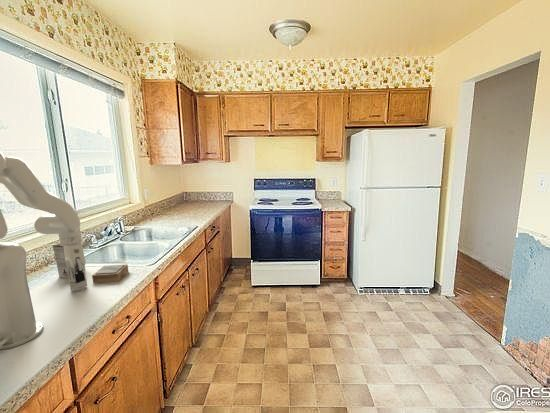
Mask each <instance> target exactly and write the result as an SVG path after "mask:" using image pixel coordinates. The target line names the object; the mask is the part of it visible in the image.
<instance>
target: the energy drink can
mask: <svg viewBox="0 0 550 413" xmlns="http://www.w3.org/2000/svg"><path fill="white" fill-rule="evenodd" d="M76 266H78V265H75V267H76ZM82 266H83V271H84V277H85V281H82V282H79V283H76V280H75V271H74V268H72V267H71V265H70V263H69V261H68V260H66V267H67V272H68V278H67V279H68V283H69V288H70V290H71V291H72V292H74V293H75V292H76V293H78V292H81V291H84V290H86V289H87V286H88V281H87V274H86V268H85V269H84V265H83V264H82ZM76 269H78V268H76Z"/></svg>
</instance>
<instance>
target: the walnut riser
mask: <svg viewBox="0 0 550 413" xmlns="http://www.w3.org/2000/svg"><path fill="white" fill-rule="evenodd" d="M128 266H129V265H128V263H126V264H113V265H103V266H102V267H101V268H99V269H98V270H97V271H95V272H94V273H93V274H92V275H91V276H92V277H91V278H92V284H107V283H108V284H110V283H111V284H112V283H120V282H121V281H122V279H123V278H124V277H125V276H126V275H127V274H128V273H129V267H128Z"/></svg>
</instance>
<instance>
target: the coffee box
mask: <svg viewBox="0 0 550 413" xmlns="http://www.w3.org/2000/svg"><path fill="white" fill-rule="evenodd" d="M52 247H53V252H54V258H55V263H56V268H57V273H58V277H59V278H67V279H69V278H68V272H67V267H66V260H65V255H64V248H63V246H61V245H60V243H58V244H54V245H53V246H52ZM85 265H86V264H85ZM85 265H84V269H85V270H86V266H85Z"/></svg>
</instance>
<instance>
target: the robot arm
mask: <svg viewBox="0 0 550 413" xmlns="http://www.w3.org/2000/svg"><path fill="white" fill-rule="evenodd" d="M0 184H2V185H3V186H4V187H5V188H6V189H7V190H8V191H9V193H11V194H12V197H14V198H15V200H16V202H18V203H19V204H20V205H22V206H24V207H27V208H29V209H30V208H31V209H34V210H38V211H43V212H46V213H49V214H44V215H42V216H39V217H37V219H36V220H35V222H34V229H35V231H36V232H37V233H39V234H41V235H58V240H59V244H60V245H61V246H63V248H64V255H65V260H68V261H69V263H70V265H71V267H72V268H74V271H75V280H76V283H79V282H82V281H85V277H84V271H83V266H82V264H83V265H86V264H87V263H86V257H85V254H84V249H83V246H82V243H83V238H82V232H81V220H80V217H79V214H78V212H77V211H76V210H75V209H74V208H73V206H72V204H70V203H69V202H67V201H65V200H64V199H62V198H61V197H59V196H57V195H56V194H54V193H52V192H50V191H48V190H46V188H45V187H44V186H43V184H42V183H41V181H40V180H39V178H38V177H37V176H36V174H35V172H33V170H32V169H31V168H30V166H29V165H28V163H27V162H26V161H25V160H23V159H22V158H19V157H15V156H4V154H3V153H2V152H1V151H0ZM7 234H8V225H7V221H6V219H5V217H4V215H3V212H2V210H1V209H0V240H2V239H4V238H5V237H6V236H7ZM75 265H78V266H76V267H75ZM76 268H78V269H76ZM27 277H28V276H27V252H26V250H25V248H24V247H23V246H22V245H20V244H18V243H15V242H7V241H5V242H4V241H1V242H0V350H6V349H12V348H16V347H17V346H21V345H24V344H25V343H28V342H30V341H31V340H34V338H36V337H38V336H39V335H40V334H41V333H42V332H43V331H44V325H43V323H42V322H40V321H37V320H36V316H35V311H34V306H33V302H32V298H31V293H30V292H31V291H30V288H29V283H28V282H29V281H28V278H27Z"/></svg>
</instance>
